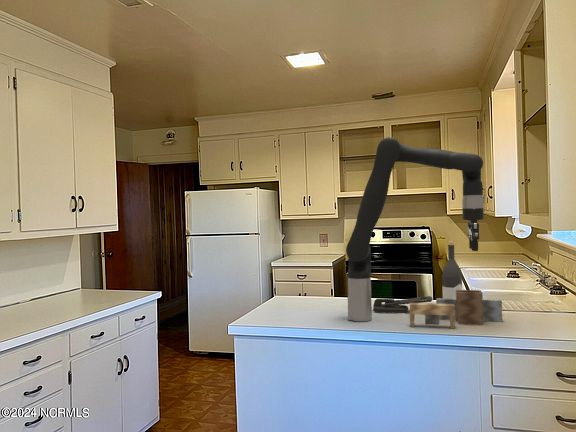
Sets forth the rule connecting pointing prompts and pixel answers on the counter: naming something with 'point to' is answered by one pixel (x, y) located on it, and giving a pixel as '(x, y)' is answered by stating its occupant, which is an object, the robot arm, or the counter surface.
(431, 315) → the wooden bridge block
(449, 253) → the wine bottle
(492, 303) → the grey brown blocky piece
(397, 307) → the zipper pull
